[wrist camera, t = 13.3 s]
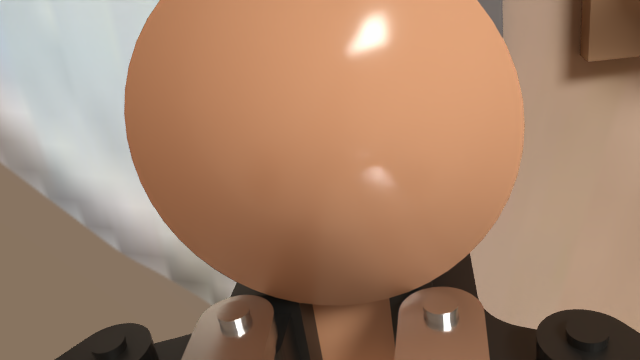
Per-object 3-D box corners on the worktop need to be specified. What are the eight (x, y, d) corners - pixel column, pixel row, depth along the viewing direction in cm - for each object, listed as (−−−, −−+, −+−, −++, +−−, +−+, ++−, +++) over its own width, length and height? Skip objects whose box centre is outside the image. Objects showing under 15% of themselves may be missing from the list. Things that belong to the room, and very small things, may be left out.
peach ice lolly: (246, -68, 15) (71, -38, 7) (457, -103, 14) (523, -111, 6) (300, 223, 19) (223, 457, 11) (471, 212, 18) (524, 460, 10)
